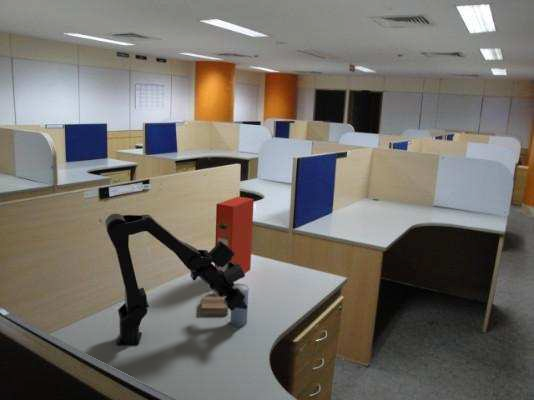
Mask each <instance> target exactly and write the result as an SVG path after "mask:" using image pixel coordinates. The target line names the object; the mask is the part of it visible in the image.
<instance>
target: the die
mask: <svg viewBox="0 0 534 400" xmlns="http://www.w3.org/2000/svg"><path fill="white" fill-rule="evenodd" d="M233 283H234V284H236V282H233ZM210 290H211V291H212V293H213V295H214V297H220V296H219V295H218V293H217V292H216V291H215V290H212V289H211V288H210ZM222 297H225V296H222Z"/></svg>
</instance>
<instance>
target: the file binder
mask: <svg viewBox="0 0 534 400" xmlns="http://www.w3.org/2000/svg"><path fill="white" fill-rule="evenodd" d="M254 201H255V199H254V198H249V197H244V196H243V197H242V196H236V197H232V198H230V199H227V200H224V201H221V202H218V203H216V204H215V205H216V206H215V207H216V210H215V215H216V216H215V245H214V247H215V246H216V244H217V243H218V242H219V241H221V242H222V243H224V244H226V245H227V246H228V247H229V248H230V249H231V250H232V251H233V252H234V253H235V254H236V255H235V256H234V257H233V258H232V259H231V260H230V261H231V262H232V263H234V264H235V263H237V264H239V265H240V266H241V267H242V269H243V271H244V274H246V273H247V272H248V271H250V270H251V266H252V265H251V264H252V263H251V262H252V243H253V226H254V225H253V221H254V203H255V202H254ZM230 261H229V262H230ZM214 266H215V267H216V268H217V269H218V270H222V271H223V272H224V271H225V270H226V268H227V264H226V265H225V266H224V267H222V268H221V267H218V266H217V265H216V264H214Z"/></svg>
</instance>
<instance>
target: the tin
mask: <svg viewBox="0 0 534 400" xmlns="http://www.w3.org/2000/svg"><path fill="white" fill-rule="evenodd" d="M232 288H233V289H237V288H238V289H239V290H241V292H242V293H243V294H244V295H245V298H244V299H243V301H244V302H245V304H246V305H247V309H241V308H235V309H234V310H232V311H231V310H230V325H231V326H233V327H236V328H237V327H239V328H241V327H245V326H247V323H248V308H249V307H248V306H249V294H250V293H249V290H250V286H249V285H248V284H246V283H242V282H241V283H235V285H234V286H233V287H232Z"/></svg>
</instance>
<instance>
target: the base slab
mask: <svg viewBox="0 0 534 400" xmlns="http://www.w3.org/2000/svg"><path fill="white" fill-rule="evenodd" d="M225 298H226V297H216V296H202V297H201V315H202V316H228V314H229V308H228V307H227V306H226V304H225V303H224V299H225Z"/></svg>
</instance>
